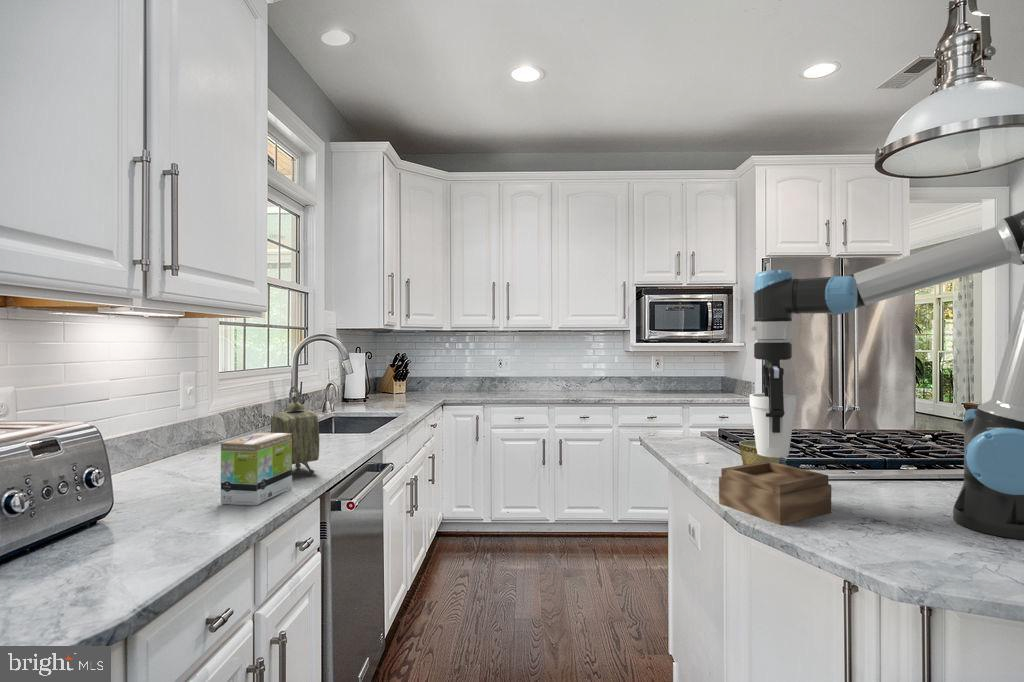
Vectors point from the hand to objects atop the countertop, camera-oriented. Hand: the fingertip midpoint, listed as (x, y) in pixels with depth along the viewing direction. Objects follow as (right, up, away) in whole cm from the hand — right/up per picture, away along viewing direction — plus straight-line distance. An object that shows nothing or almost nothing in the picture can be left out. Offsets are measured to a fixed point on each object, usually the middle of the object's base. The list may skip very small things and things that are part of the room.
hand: (772, 442), depth 123 cm
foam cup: (0, -3, 0) cm, 3 cm away
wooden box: (0, -14, 0) cm, 14 cm away
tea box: (-120, -16, +15) cm, 122 cm away
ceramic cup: (+8, -14, +22) cm, 27 cm away
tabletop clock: (-120, -16, +36) cm, 126 cm away
